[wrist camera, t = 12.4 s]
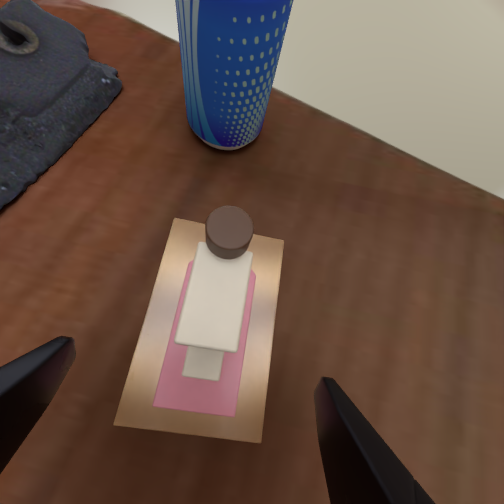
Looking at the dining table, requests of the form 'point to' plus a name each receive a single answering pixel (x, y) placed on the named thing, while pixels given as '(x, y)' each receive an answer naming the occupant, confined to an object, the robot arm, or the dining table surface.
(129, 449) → the dining table surface
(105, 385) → the dining table surface
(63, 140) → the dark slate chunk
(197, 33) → the beer can
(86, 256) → the dining table surface
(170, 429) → the wood block
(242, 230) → the toy boat
